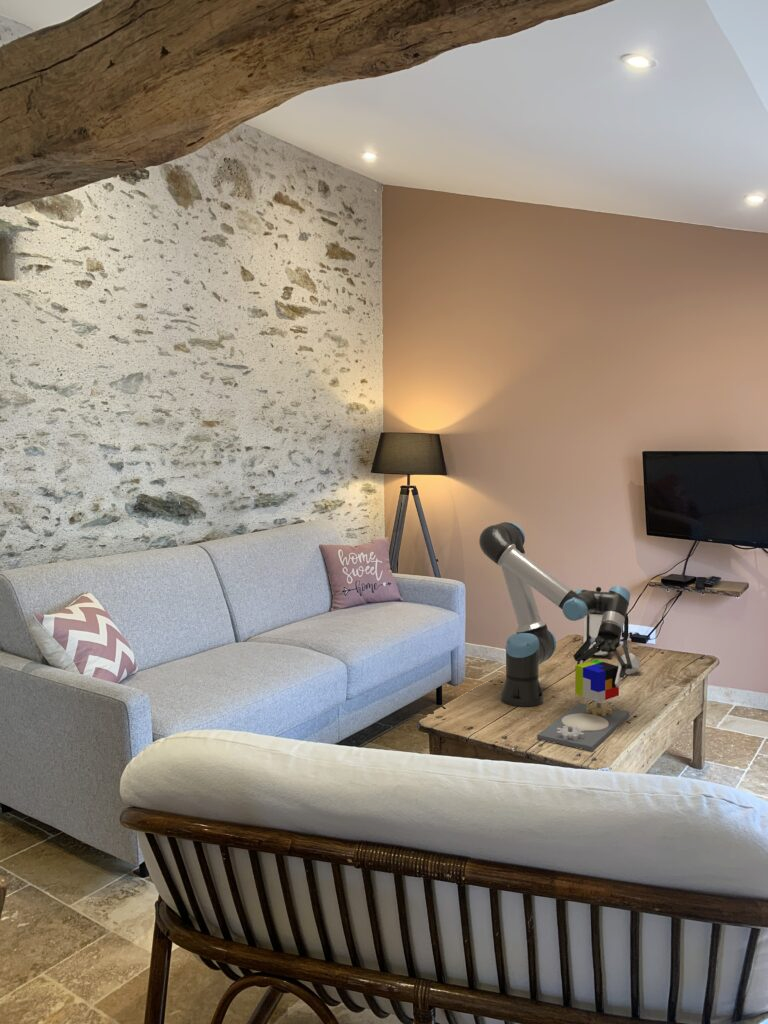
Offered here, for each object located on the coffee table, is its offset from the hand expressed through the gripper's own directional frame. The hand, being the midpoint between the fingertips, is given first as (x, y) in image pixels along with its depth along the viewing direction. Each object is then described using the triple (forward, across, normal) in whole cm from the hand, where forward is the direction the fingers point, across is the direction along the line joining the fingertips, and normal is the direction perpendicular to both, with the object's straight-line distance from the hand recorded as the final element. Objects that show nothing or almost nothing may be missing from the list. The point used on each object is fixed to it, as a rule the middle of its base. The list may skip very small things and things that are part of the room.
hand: (597, 682), depth 273 cm
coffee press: (-45, +24, -67) cm, 84 cm away
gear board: (+14, +2, -5) cm, 15 cm away
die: (-31, +6, -53) cm, 62 cm away
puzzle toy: (+3, 0, -4) cm, 5 cm away
